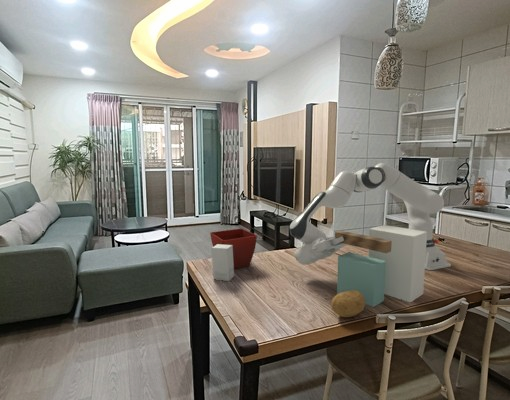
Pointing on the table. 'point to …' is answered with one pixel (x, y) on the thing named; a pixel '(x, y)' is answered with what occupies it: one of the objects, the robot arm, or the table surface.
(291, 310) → the table surface
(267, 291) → the table surface
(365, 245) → the rail
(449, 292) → the table surface
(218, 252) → the skincare box
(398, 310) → the table surface
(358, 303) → the potato
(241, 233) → the plant pot
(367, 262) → the teal box
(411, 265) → the stand
